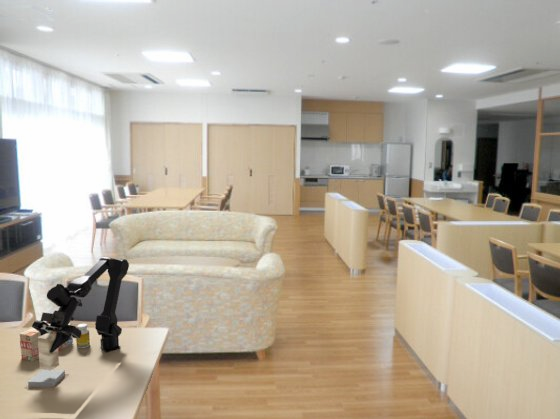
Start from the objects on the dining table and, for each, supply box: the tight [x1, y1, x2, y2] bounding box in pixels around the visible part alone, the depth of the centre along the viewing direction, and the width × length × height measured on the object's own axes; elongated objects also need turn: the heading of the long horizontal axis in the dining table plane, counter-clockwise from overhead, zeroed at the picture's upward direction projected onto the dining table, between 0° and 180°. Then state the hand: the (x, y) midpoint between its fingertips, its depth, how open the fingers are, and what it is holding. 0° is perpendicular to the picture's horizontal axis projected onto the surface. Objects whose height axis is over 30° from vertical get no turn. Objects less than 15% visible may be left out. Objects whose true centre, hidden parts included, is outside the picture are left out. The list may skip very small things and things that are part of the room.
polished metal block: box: [38, 333, 60, 371], centre depth 173 cm, size 4×4×12 cm
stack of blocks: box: [19, 323, 74, 362], centre depth 201 cm, size 21×6×12 cm, turn 159°
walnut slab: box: [24, 373, 70, 390], centre depth 175 cm, size 11×11×2 cm
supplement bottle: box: [75, 323, 91, 349], centre depth 207 cm, size 5×5×10 cm
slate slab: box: [27, 369, 66, 387], centre depth 175 cm, size 9×9×2 cm
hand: (45, 351), depth 171 cm, fingers closed on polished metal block, 4 cm apart
